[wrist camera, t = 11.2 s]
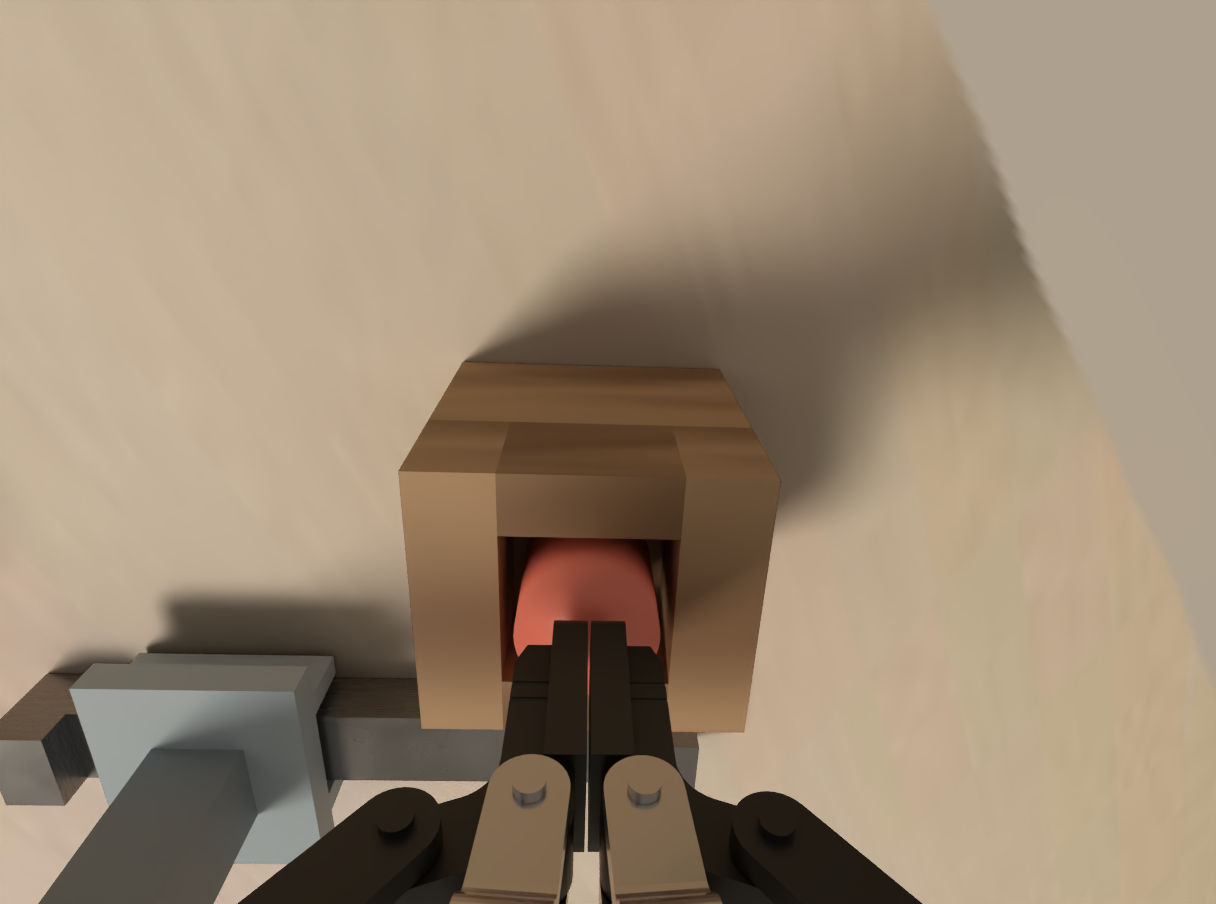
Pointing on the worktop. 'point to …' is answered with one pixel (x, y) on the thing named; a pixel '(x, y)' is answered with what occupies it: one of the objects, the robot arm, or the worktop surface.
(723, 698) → the cabinet
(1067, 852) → the worktop surface
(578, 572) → the button
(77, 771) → the rail
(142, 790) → the carriage
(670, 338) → the worktop surface
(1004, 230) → the worktop surface
